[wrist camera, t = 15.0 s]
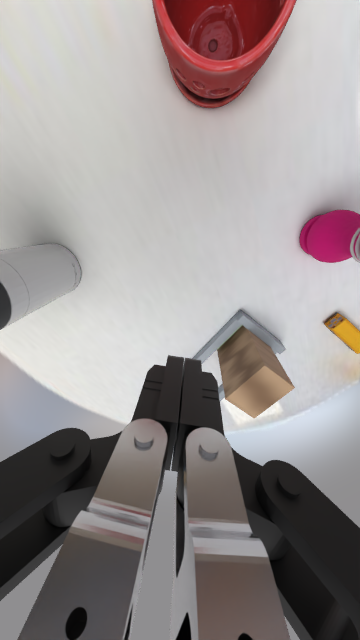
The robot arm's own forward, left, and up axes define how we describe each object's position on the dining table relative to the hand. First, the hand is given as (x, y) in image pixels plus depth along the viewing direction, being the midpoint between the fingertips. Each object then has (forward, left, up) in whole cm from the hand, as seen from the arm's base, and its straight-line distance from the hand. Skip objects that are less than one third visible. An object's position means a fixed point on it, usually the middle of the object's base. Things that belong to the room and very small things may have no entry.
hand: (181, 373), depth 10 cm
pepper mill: (+20, +7, -32) cm, 39 cm away
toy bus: (+31, -9, -32) cm, 46 cm away
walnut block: (+13, -15, -32) cm, 37 cm away
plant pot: (-1, +26, -32) cm, 41 cm away
